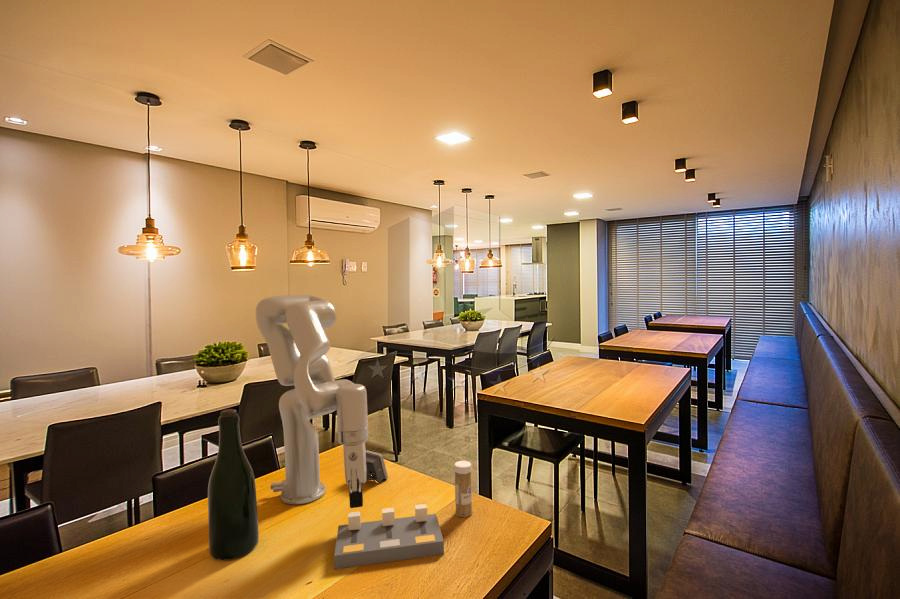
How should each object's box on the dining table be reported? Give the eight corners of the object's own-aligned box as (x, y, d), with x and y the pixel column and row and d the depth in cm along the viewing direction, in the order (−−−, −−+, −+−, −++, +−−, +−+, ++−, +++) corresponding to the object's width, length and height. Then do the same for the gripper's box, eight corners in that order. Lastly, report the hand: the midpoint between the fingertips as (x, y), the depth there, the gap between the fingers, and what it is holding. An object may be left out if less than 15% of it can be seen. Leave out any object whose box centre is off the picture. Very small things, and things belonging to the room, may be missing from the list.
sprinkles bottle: (470, 519, 112) (468, 468, 112) (453, 516, 114) (451, 466, 113) (474, 510, 117) (473, 460, 116) (458, 507, 118) (456, 459, 118)
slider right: (416, 522, 105) (415, 509, 105) (415, 517, 107) (414, 505, 107) (427, 520, 106) (427, 507, 106) (426, 516, 108) (426, 503, 108)
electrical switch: (388, 479, 136) (385, 451, 135) (377, 488, 132) (374, 459, 131) (367, 473, 142) (363, 446, 140) (355, 481, 137) (352, 453, 136)
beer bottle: (204, 566, 96) (196, 419, 95) (215, 539, 106) (209, 406, 105) (255, 557, 99) (248, 414, 98) (262, 532, 109) (256, 402, 108)
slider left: (348, 530, 103) (348, 517, 102) (349, 525, 104) (348, 512, 104) (360, 529, 103) (360, 515, 103) (360, 524, 105) (360, 511, 105)
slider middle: (382, 526, 104) (382, 513, 104) (382, 521, 106) (382, 508, 106) (394, 524, 104) (394, 511, 104) (394, 520, 106) (393, 507, 106)
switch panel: (334, 569, 94) (334, 555, 94) (338, 537, 106) (338, 525, 106) (444, 554, 98) (443, 540, 98) (436, 525, 110) (436, 513, 110)
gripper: (368, 442, 103) (371, 519, 103) (368, 423, 117) (371, 490, 118) (335, 446, 101) (339, 523, 102) (340, 426, 116) (343, 494, 116)
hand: (356, 505), depth 110 cm, fingers closed
